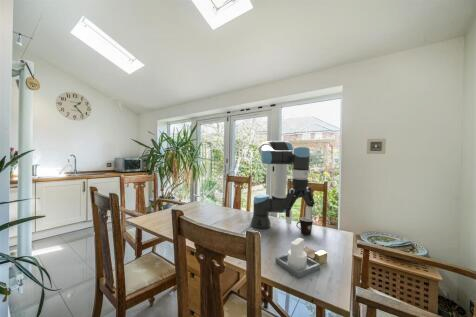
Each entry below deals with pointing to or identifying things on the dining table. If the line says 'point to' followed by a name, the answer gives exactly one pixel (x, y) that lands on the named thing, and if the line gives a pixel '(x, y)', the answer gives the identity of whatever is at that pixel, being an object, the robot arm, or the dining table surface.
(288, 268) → the tray
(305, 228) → the coffee mug
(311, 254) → the tan rounded-edge slab
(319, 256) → the block
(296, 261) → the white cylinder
